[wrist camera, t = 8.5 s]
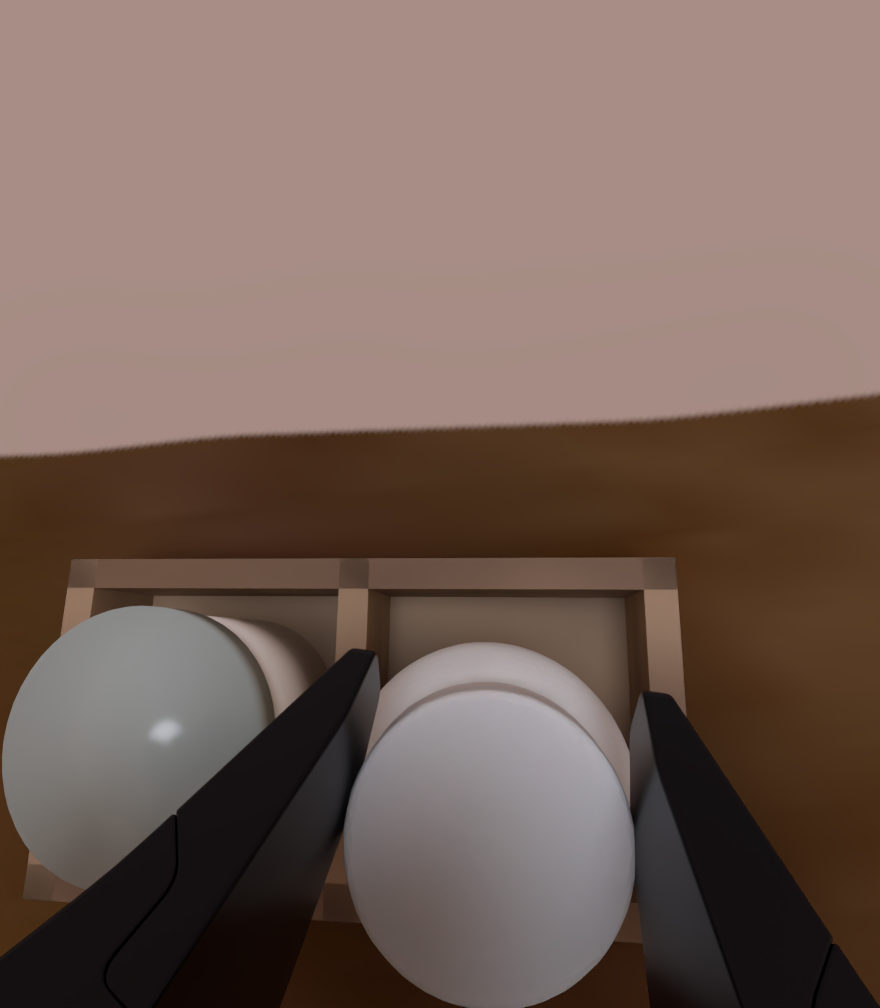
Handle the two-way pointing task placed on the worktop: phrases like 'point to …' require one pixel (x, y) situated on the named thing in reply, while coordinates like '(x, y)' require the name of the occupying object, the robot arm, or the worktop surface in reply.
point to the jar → (138, 726)
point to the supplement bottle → (491, 827)
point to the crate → (419, 630)
